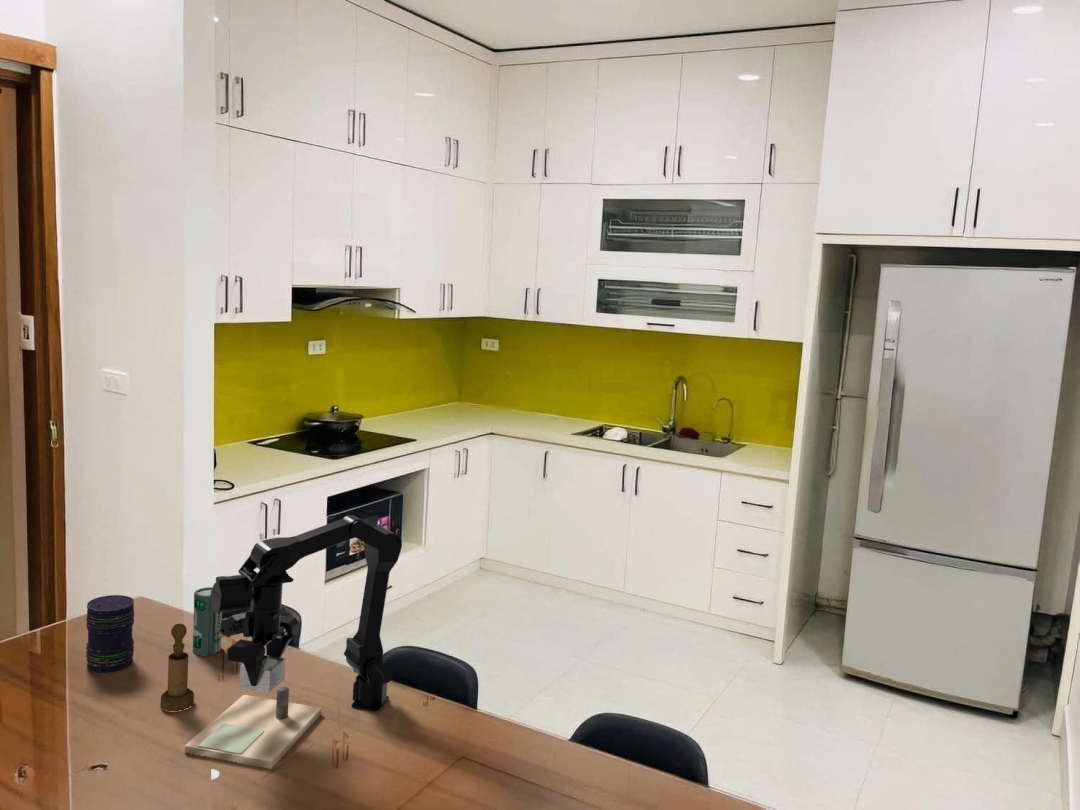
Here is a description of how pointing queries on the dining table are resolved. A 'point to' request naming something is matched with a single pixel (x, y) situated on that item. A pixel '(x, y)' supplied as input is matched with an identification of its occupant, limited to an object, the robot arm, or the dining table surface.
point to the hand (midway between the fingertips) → (262, 678)
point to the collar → (265, 675)
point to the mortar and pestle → (177, 675)
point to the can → (205, 624)
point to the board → (255, 730)
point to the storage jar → (110, 633)
